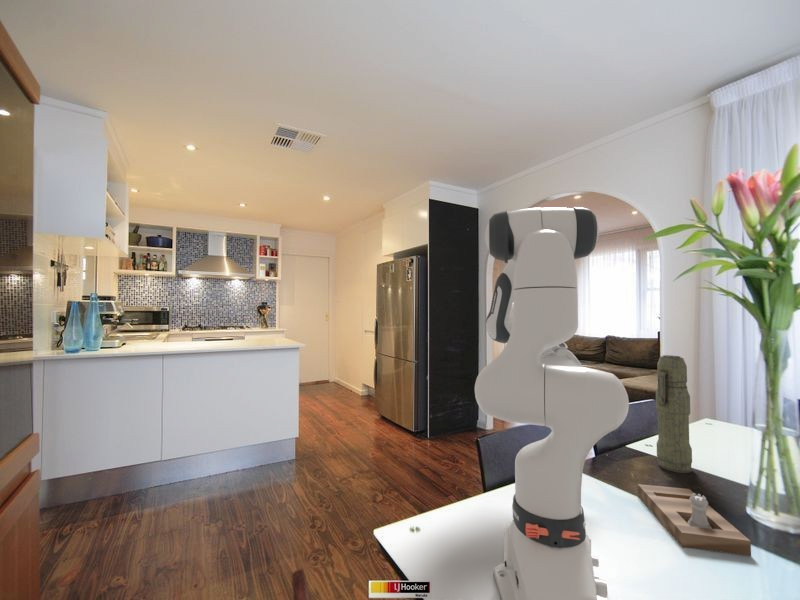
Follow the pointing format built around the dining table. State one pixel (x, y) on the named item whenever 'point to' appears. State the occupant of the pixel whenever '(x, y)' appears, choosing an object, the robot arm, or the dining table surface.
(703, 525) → the rook chess piece
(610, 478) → the dining table surface
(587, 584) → the robot arm
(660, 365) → the thermos
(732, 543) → the block
